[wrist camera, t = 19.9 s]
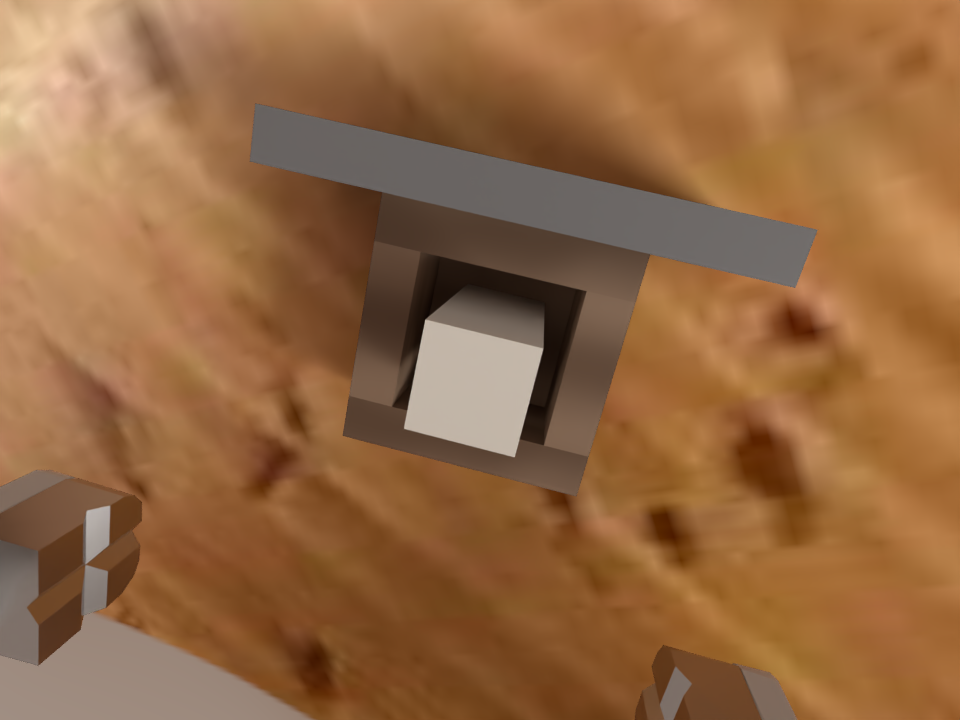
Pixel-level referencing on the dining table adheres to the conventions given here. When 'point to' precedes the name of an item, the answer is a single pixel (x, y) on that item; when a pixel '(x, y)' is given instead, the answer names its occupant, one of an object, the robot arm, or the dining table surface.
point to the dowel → (477, 369)
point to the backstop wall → (532, 196)
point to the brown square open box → (509, 269)
